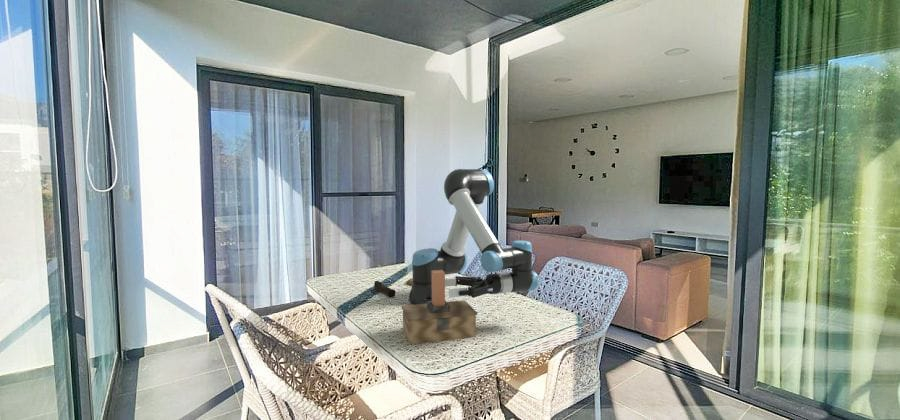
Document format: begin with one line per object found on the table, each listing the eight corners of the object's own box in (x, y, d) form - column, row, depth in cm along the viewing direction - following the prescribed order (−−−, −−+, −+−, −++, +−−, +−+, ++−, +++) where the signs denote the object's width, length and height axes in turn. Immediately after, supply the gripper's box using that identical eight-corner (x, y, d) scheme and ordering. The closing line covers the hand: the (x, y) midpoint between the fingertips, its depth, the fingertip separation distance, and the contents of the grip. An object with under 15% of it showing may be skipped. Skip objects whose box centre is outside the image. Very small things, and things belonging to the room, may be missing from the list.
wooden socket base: (408, 345, 139) (408, 313, 138) (401, 329, 154) (401, 300, 153) (477, 337, 146) (477, 307, 145) (464, 322, 160) (464, 295, 159)
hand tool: (396, 297, 194) (395, 287, 194) (388, 298, 192) (388, 288, 191) (380, 288, 210) (380, 279, 209) (372, 289, 208) (372, 280, 207)
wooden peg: (434, 311, 147) (434, 273, 145) (431, 307, 150) (431, 270, 149) (445, 310, 148) (444, 272, 146) (442, 306, 151) (442, 269, 150)
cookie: (410, 287, 210) (410, 282, 210) (404, 282, 220) (404, 277, 219) (428, 285, 214) (428, 279, 214) (421, 280, 224) (421, 275, 224)
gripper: (512, 303, 142) (453, 309, 137) (486, 284, 166) (435, 288, 160) (512, 282, 142) (453, 287, 136) (486, 266, 166) (435, 270, 160)
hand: (443, 288), depth 148 cm, fingers open, 13 cm apart
